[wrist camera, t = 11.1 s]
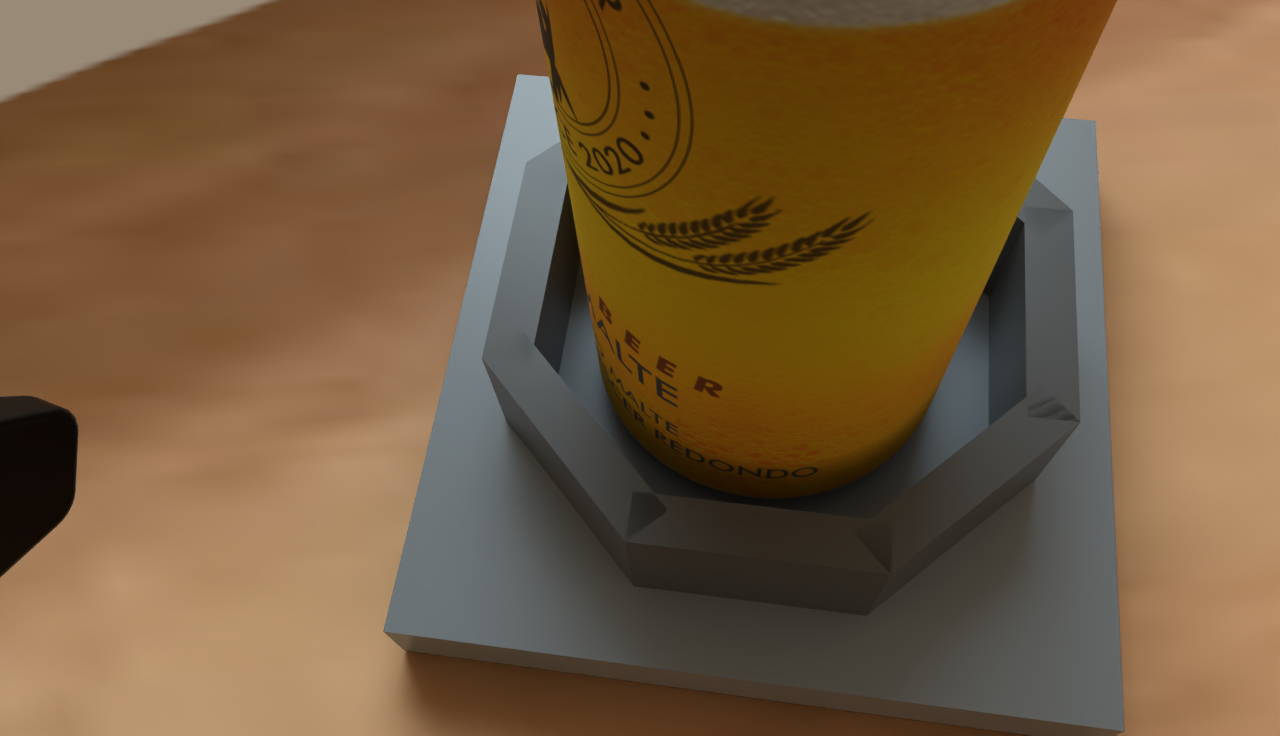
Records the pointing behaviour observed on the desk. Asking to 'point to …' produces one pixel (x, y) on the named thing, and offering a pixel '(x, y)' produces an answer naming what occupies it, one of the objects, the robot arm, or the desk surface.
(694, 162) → the beer can
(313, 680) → the desk surface
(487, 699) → the desk surface
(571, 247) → the collar dock
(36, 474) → the robot arm
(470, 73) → the desk surface
